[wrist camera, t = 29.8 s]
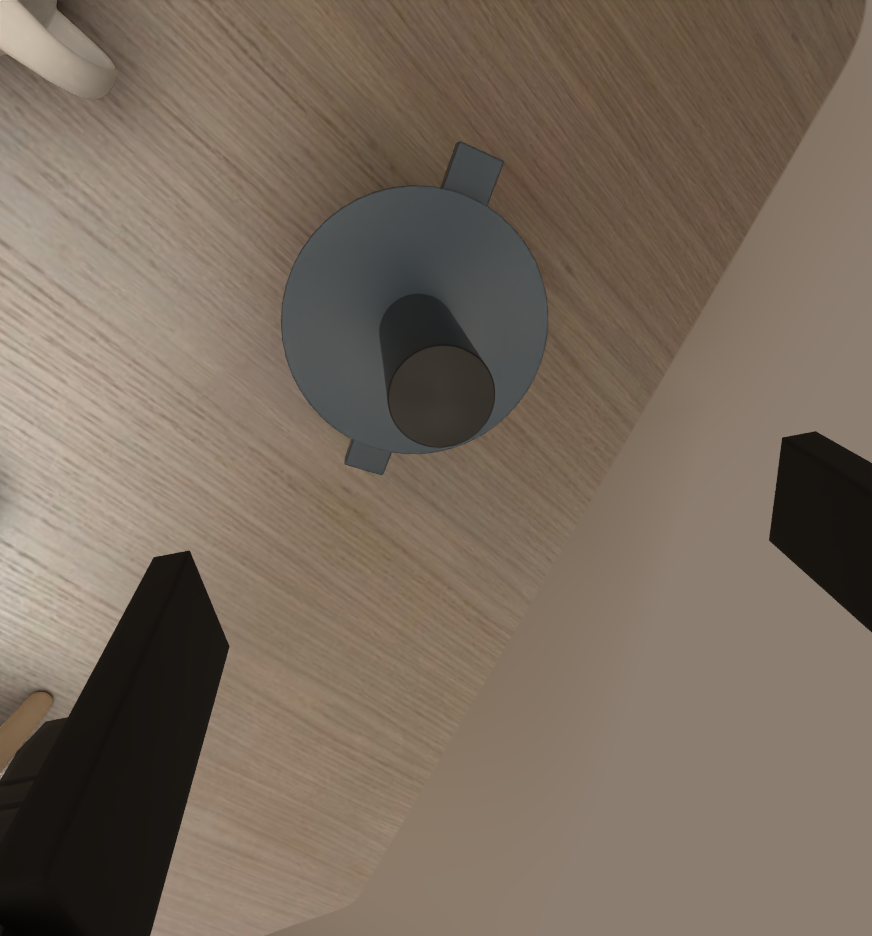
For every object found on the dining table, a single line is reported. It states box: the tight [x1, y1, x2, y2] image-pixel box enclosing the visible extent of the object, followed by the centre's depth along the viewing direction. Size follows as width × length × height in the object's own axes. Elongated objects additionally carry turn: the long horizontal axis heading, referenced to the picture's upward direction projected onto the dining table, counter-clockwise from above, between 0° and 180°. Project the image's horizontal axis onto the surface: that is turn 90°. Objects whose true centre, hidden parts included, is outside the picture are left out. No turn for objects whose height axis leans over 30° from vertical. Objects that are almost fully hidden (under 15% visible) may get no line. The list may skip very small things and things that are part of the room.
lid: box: [281, 185, 548, 454], centre depth 27 cm, size 14×14×11 cm
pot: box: [345, 141, 504, 475], centre depth 37 cm, size 13×18×12 cm
